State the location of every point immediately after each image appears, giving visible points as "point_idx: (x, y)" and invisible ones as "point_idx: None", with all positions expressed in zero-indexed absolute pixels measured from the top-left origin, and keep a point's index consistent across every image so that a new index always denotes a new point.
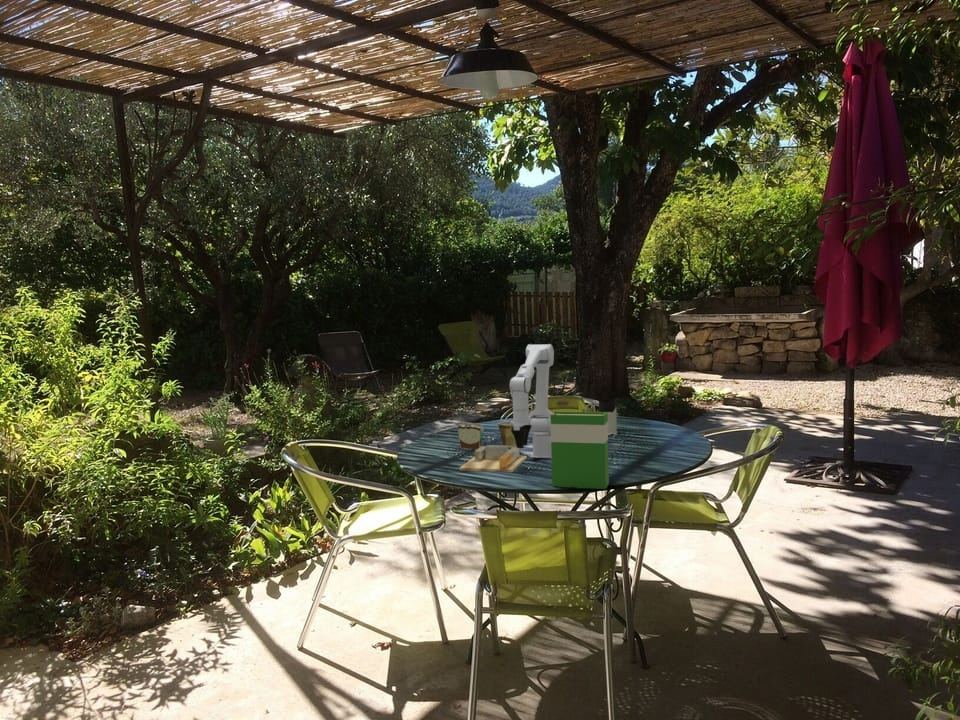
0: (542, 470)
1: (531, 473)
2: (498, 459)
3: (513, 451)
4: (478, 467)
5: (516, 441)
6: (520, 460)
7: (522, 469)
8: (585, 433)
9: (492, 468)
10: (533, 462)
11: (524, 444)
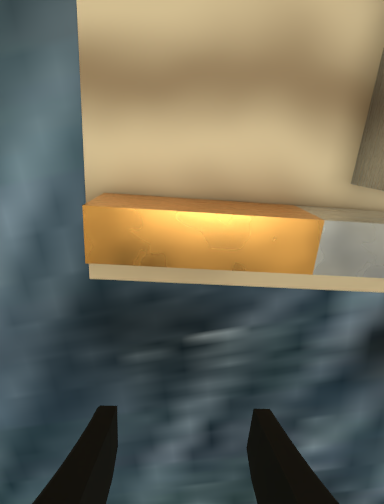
0: (162, 402)
1: (90, 367)
2: (367, 129)
3: (356, 272)
4: (109, 2)
5: (62, 475)
6: (341, 281)
7: (174, 311)
8: None
9: (97, 138)
10: (344, 337)
11: (249, 440)
